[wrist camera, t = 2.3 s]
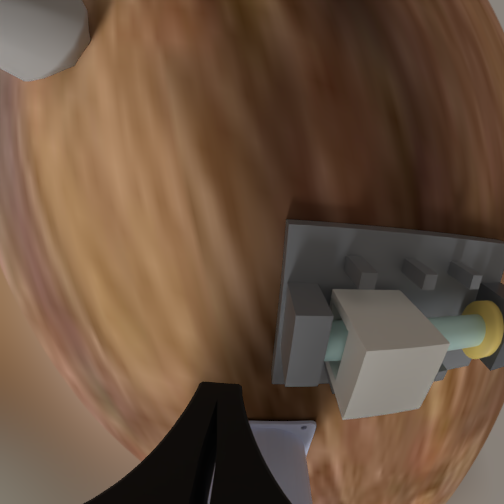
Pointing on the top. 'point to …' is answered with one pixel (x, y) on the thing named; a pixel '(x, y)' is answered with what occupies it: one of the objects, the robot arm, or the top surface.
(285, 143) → the top surface
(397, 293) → the sleeve
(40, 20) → the salt shaker
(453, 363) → the rod slider bracket
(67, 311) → the top surface
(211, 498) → the robot arm
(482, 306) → the yellow round puck
